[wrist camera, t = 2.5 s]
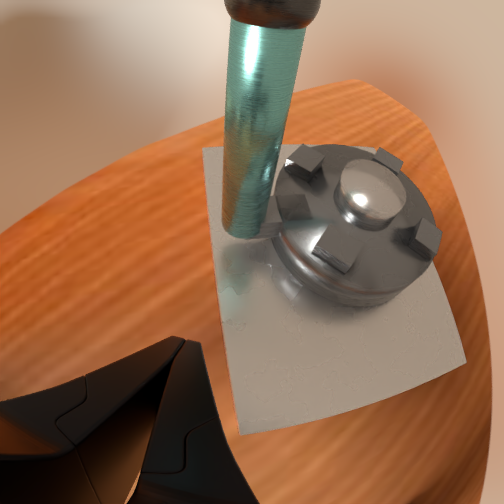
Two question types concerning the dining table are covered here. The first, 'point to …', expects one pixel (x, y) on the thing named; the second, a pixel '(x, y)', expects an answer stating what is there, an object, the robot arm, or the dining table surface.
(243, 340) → the base plate
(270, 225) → the joystick
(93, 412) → the robot arm
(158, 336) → the dining table surface
